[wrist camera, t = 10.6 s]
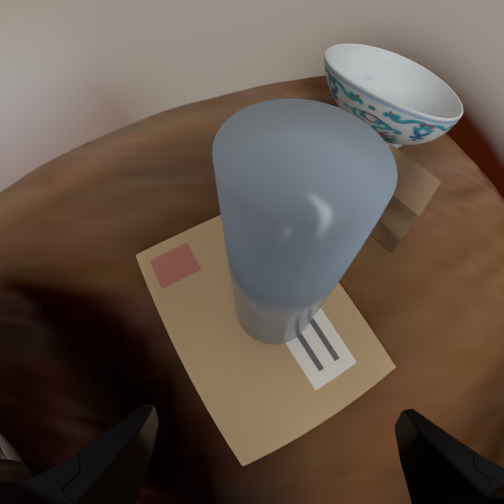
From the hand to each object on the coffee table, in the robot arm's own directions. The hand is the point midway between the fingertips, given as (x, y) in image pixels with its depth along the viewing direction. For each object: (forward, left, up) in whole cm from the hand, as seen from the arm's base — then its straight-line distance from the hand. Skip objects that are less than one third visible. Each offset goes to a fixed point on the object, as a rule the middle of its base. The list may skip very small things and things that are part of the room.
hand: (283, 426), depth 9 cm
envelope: (+6, -3, -8) cm, 10 cm away
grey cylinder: (+6, -4, -7) cm, 10 cm away
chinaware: (+17, -25, -8) cm, 31 cm away
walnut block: (+8, -16, -8) cm, 19 cm away
